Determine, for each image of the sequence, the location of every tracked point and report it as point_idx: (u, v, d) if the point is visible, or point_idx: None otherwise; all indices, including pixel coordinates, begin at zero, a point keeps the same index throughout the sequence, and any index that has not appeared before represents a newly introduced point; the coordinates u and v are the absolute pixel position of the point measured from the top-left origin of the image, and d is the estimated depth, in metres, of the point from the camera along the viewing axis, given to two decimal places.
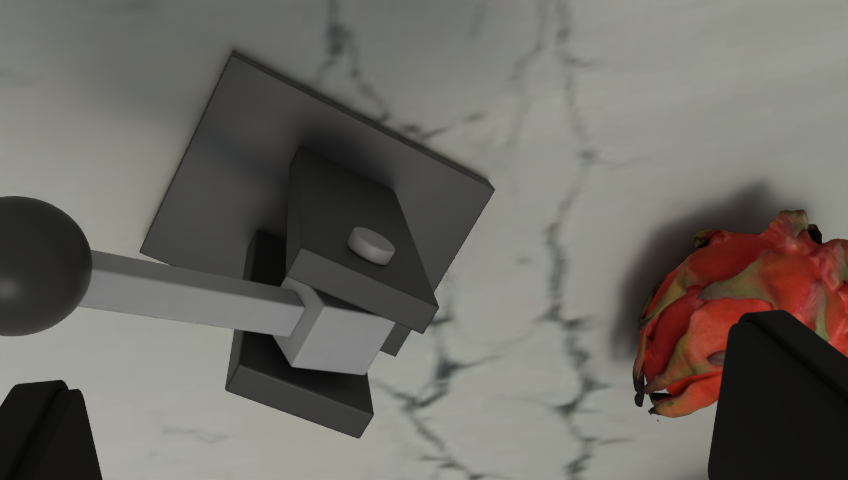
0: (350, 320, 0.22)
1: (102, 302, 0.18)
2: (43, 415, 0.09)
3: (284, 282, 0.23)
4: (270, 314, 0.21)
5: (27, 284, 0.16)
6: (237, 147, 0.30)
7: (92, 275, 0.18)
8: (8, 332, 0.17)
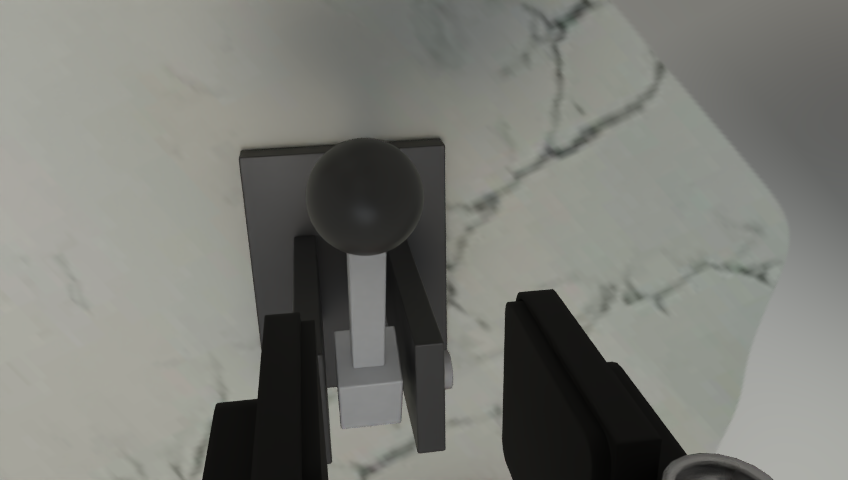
0: (393, 399, 0.26)
1: (356, 260, 0.21)
2: (301, 337, 0.10)
3: None
4: (372, 350, 0.25)
5: (388, 233, 0.19)
6: None
7: None
8: (333, 233, 0.19)
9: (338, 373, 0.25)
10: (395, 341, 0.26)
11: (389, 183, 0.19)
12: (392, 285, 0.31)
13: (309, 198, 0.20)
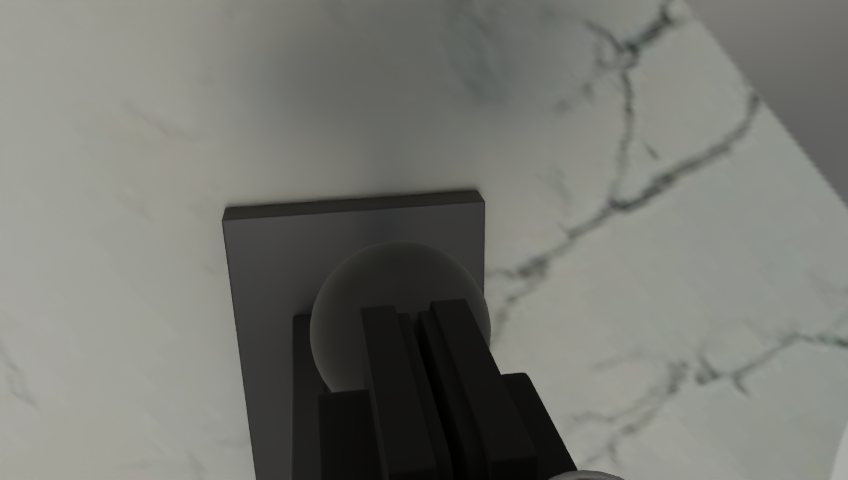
0: None
1: None
2: (400, 329, 0.10)
3: None
4: None
5: None
6: None
7: None
8: None
9: None
10: None
11: None
12: None
13: (315, 339, 0.13)
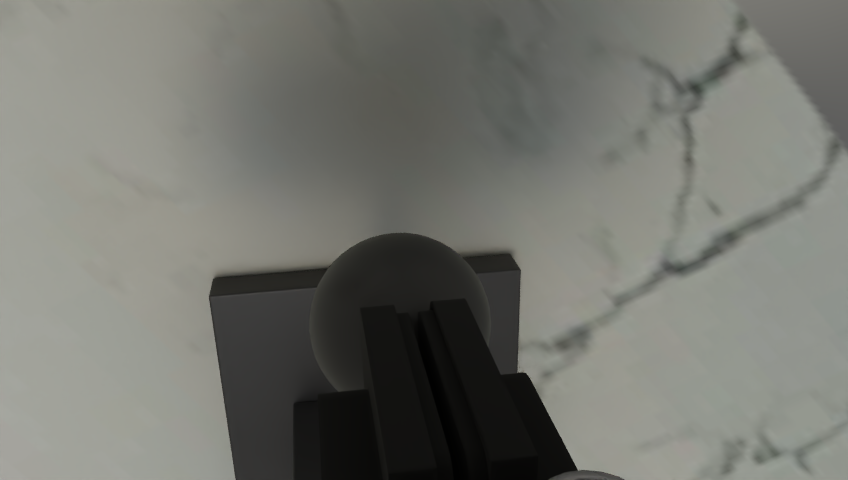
0: None
1: None
2: (400, 329, 0.10)
3: None
4: None
5: None
6: None
7: None
8: (350, 359, 0.12)
9: None
10: None
11: (436, 268, 0.12)
12: None
13: (313, 314, 0.13)
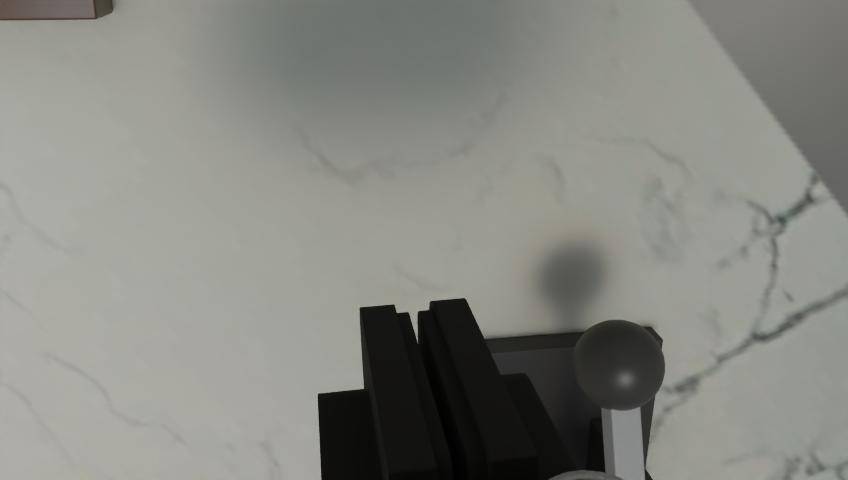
0: None
1: (618, 425, 0.26)
2: (401, 329, 0.10)
3: None
4: None
5: (648, 366, 0.25)
6: None
7: (636, 408, 0.26)
8: (606, 372, 0.25)
9: None
10: None
11: (640, 330, 0.26)
12: None
13: (580, 357, 0.26)
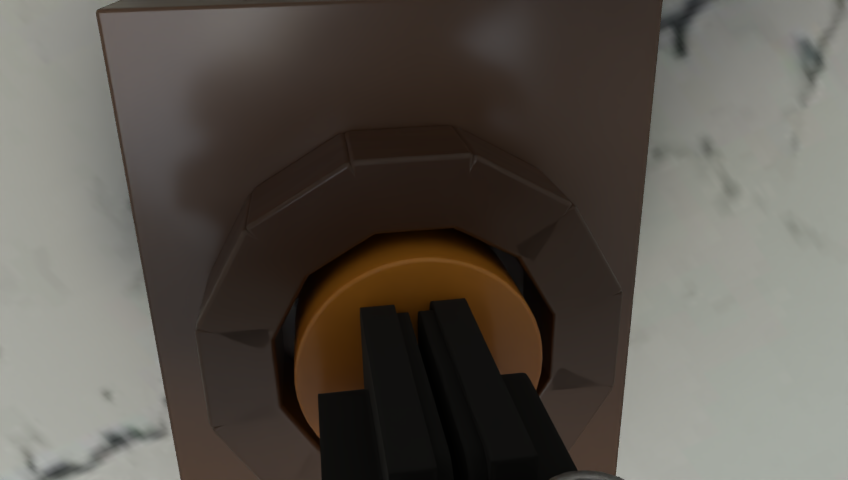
0: None
1: None
2: (401, 329, 0.10)
3: None
4: None
5: None
6: None
7: None
8: None
9: None
10: None
11: None
12: None
13: None
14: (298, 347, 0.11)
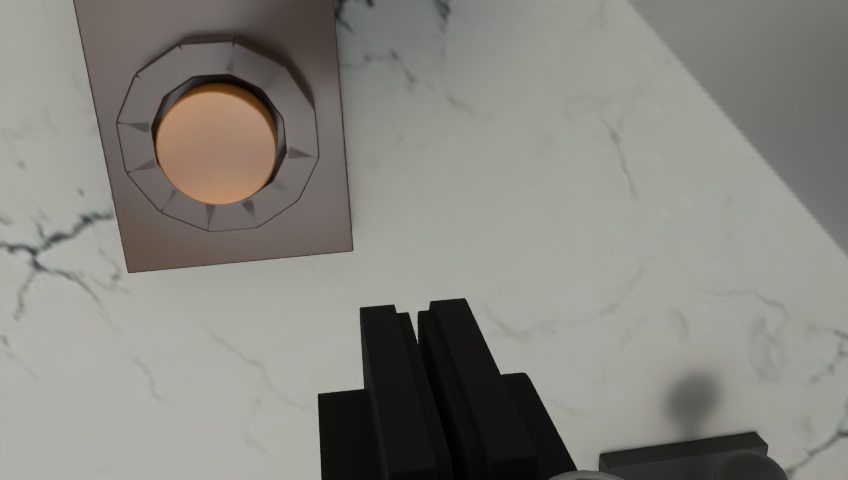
0: None
1: None
2: (401, 329, 0.10)
3: None
4: None
5: None
6: (710, 479, 0.40)
7: None
8: None
9: None
10: None
11: (770, 463, 0.33)
12: None
13: None
14: None
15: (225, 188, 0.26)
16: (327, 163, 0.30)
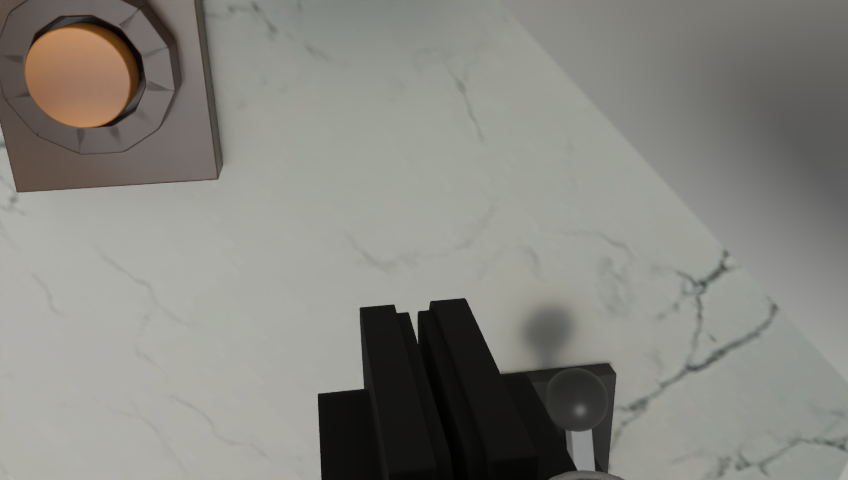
0: None
1: (576, 442, 0.38)
2: (401, 329, 0.10)
3: None
4: None
5: (595, 402, 0.37)
6: None
7: (589, 430, 0.38)
8: (566, 406, 0.37)
9: None
10: None
11: (590, 376, 0.38)
12: None
13: (549, 395, 0.38)
14: None
15: (87, 113, 0.30)
16: (191, 99, 0.34)
